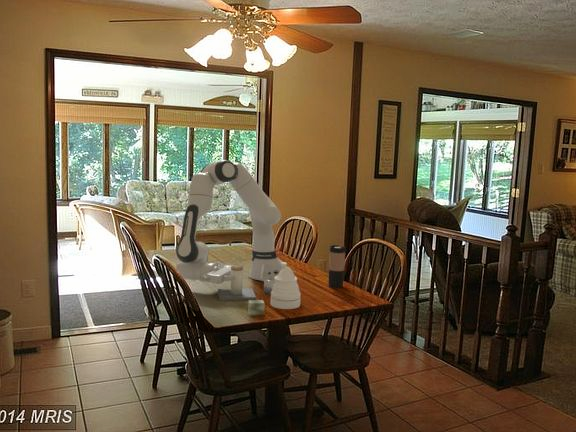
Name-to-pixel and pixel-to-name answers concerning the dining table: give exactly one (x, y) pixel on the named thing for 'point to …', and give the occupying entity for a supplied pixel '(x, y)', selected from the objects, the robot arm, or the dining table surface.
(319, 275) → the dining table surface
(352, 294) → the dining table surface
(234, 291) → the white lidded jar
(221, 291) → the serving board
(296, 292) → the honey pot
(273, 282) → the metal tin
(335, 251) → the travel mug
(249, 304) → the sage block
